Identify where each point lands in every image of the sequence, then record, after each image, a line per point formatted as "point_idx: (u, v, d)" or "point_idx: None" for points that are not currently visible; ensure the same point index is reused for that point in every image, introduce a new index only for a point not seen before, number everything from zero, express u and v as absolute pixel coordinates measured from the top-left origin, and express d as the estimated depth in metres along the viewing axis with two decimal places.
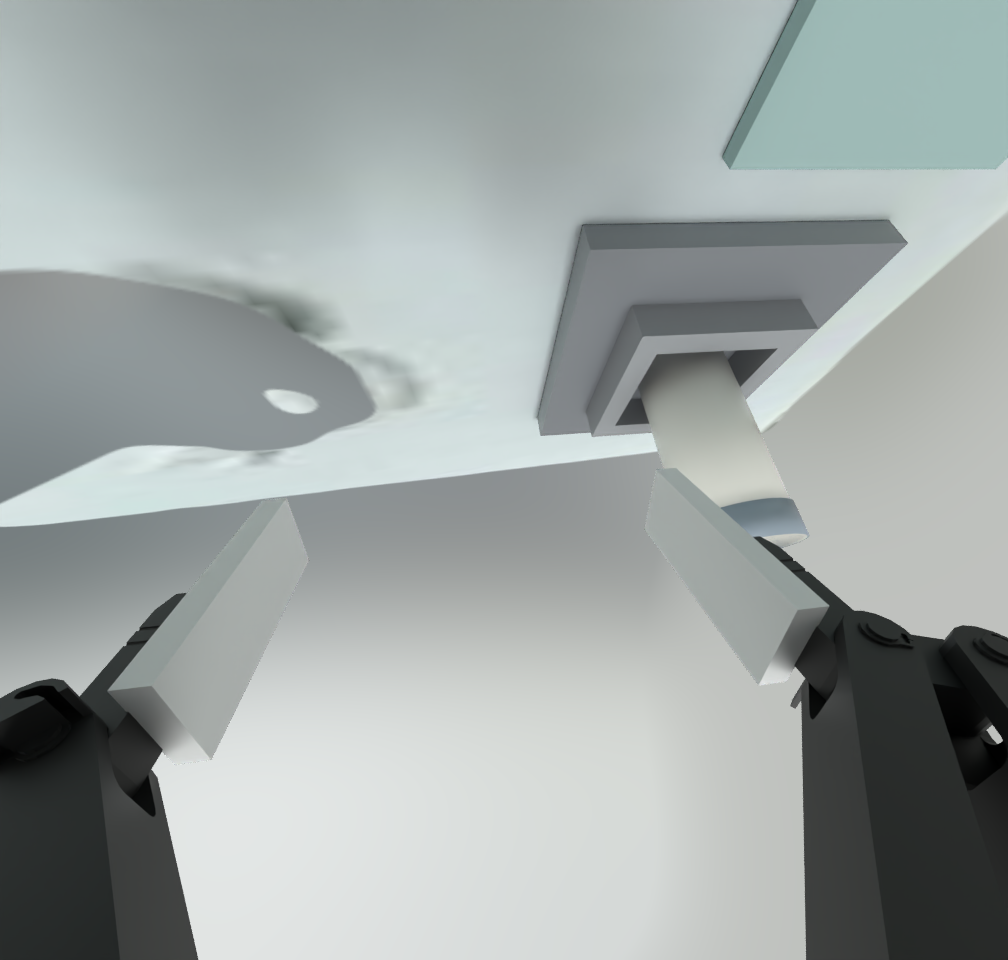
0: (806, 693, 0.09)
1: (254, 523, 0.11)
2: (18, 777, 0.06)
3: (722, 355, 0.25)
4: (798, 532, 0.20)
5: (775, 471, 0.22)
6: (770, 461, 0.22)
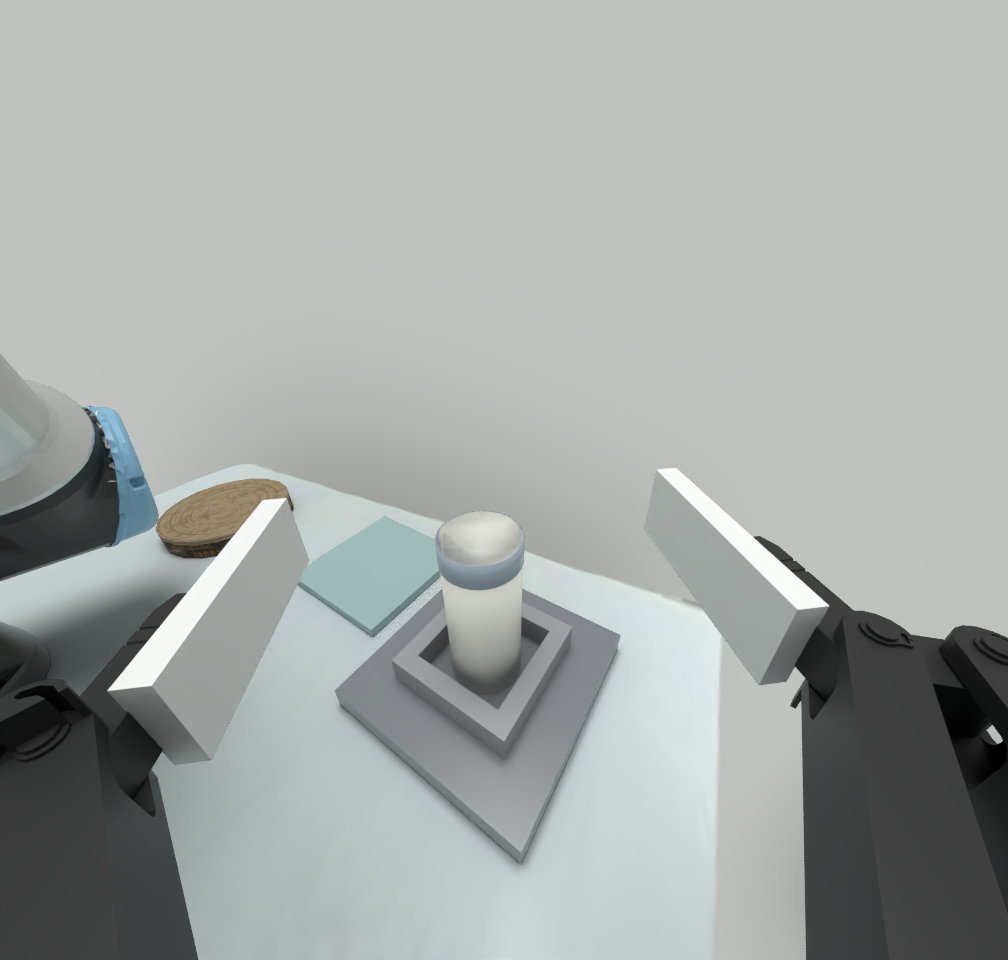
0: (806, 693, 0.09)
1: (254, 523, 0.11)
2: (18, 777, 0.06)
3: None
4: (456, 516, 0.28)
5: None
6: None
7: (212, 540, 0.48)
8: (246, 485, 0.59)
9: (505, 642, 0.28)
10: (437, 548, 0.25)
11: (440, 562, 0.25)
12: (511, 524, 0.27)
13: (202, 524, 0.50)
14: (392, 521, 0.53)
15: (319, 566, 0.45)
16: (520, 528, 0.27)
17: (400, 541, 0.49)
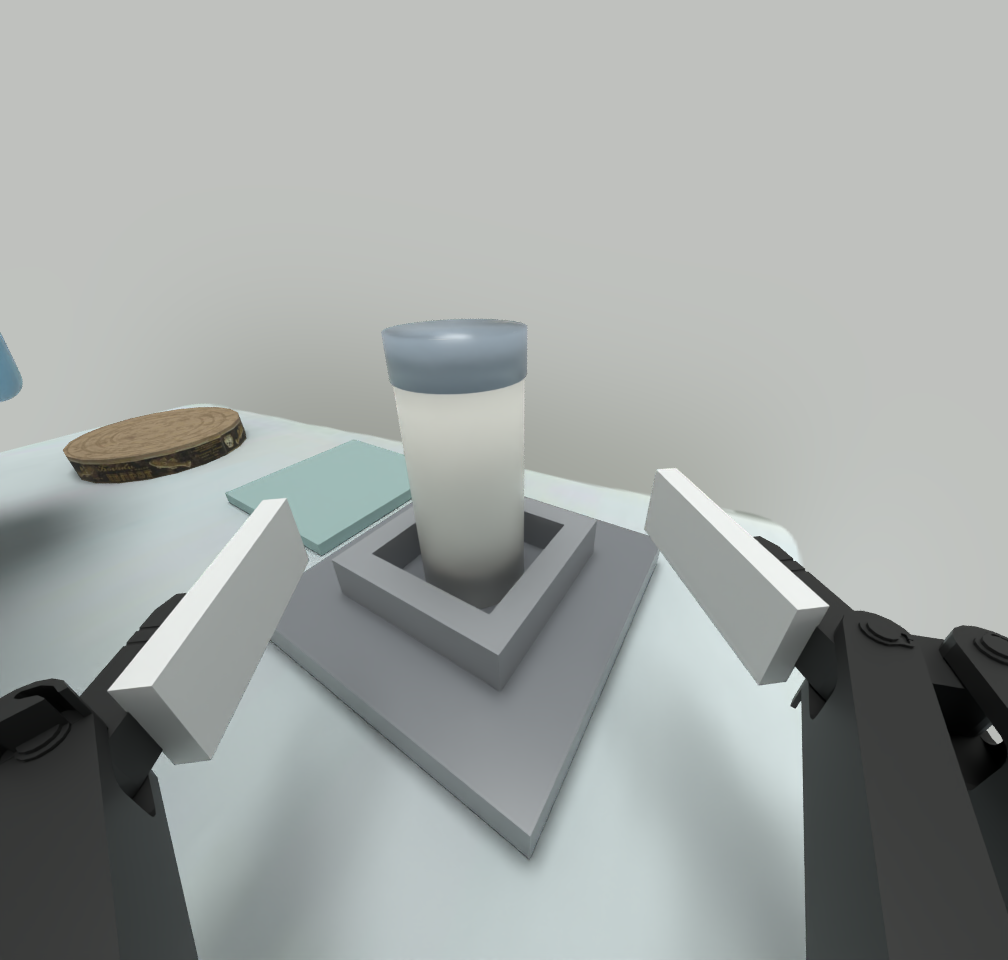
0: (806, 693, 0.09)
1: (254, 523, 0.11)
2: (18, 777, 0.06)
3: None
4: (421, 322, 0.18)
5: None
6: None
7: (130, 458, 0.38)
8: (190, 412, 0.49)
9: (499, 513, 0.18)
10: (384, 334, 0.15)
11: (389, 356, 0.15)
12: (507, 322, 0.17)
13: (123, 444, 0.40)
14: (362, 443, 0.43)
15: (263, 484, 0.35)
16: (520, 324, 0.17)
17: (370, 460, 0.39)
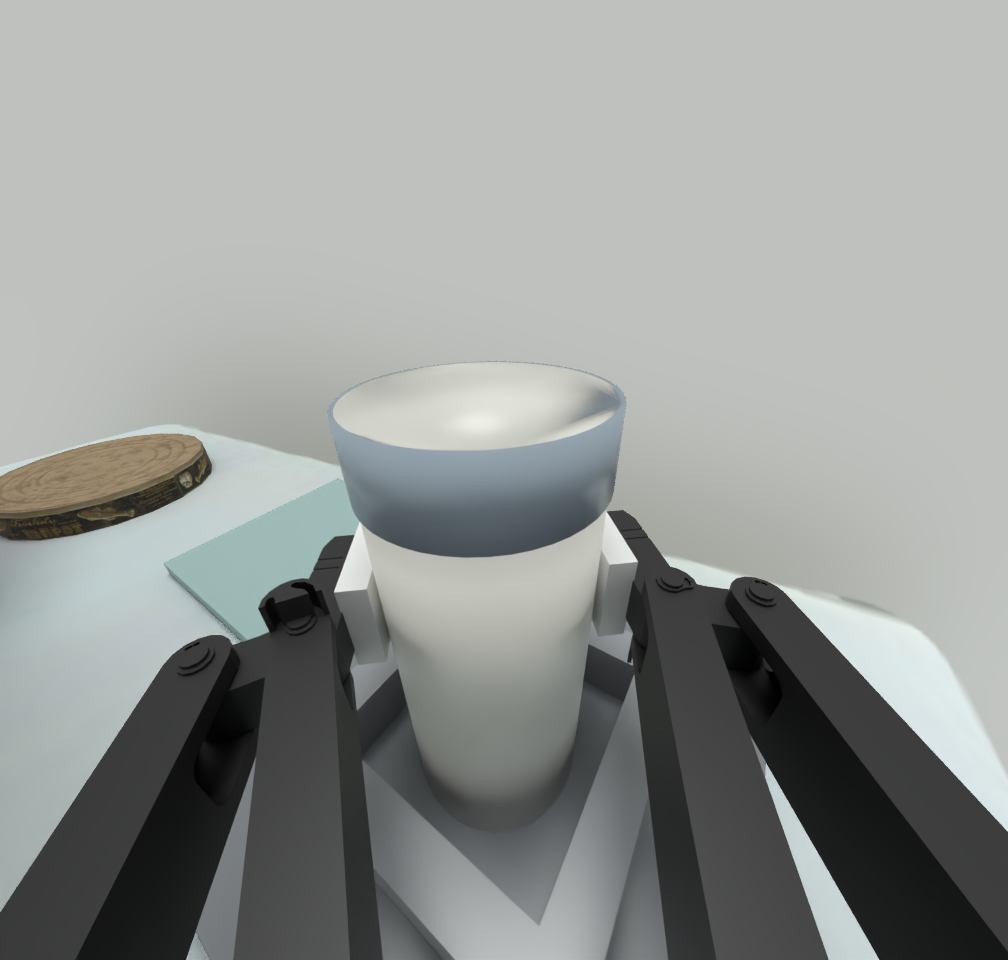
0: (633, 649, 0.10)
1: None
2: (286, 645, 0.08)
3: None
4: (415, 369, 0.10)
5: None
6: None
7: (50, 510, 0.30)
8: (145, 441, 0.41)
9: (552, 715, 0.10)
10: (331, 415, 0.07)
11: (341, 464, 0.07)
12: (572, 375, 0.09)
13: (49, 488, 0.32)
14: None
15: (216, 548, 0.27)
16: (601, 380, 0.09)
17: None
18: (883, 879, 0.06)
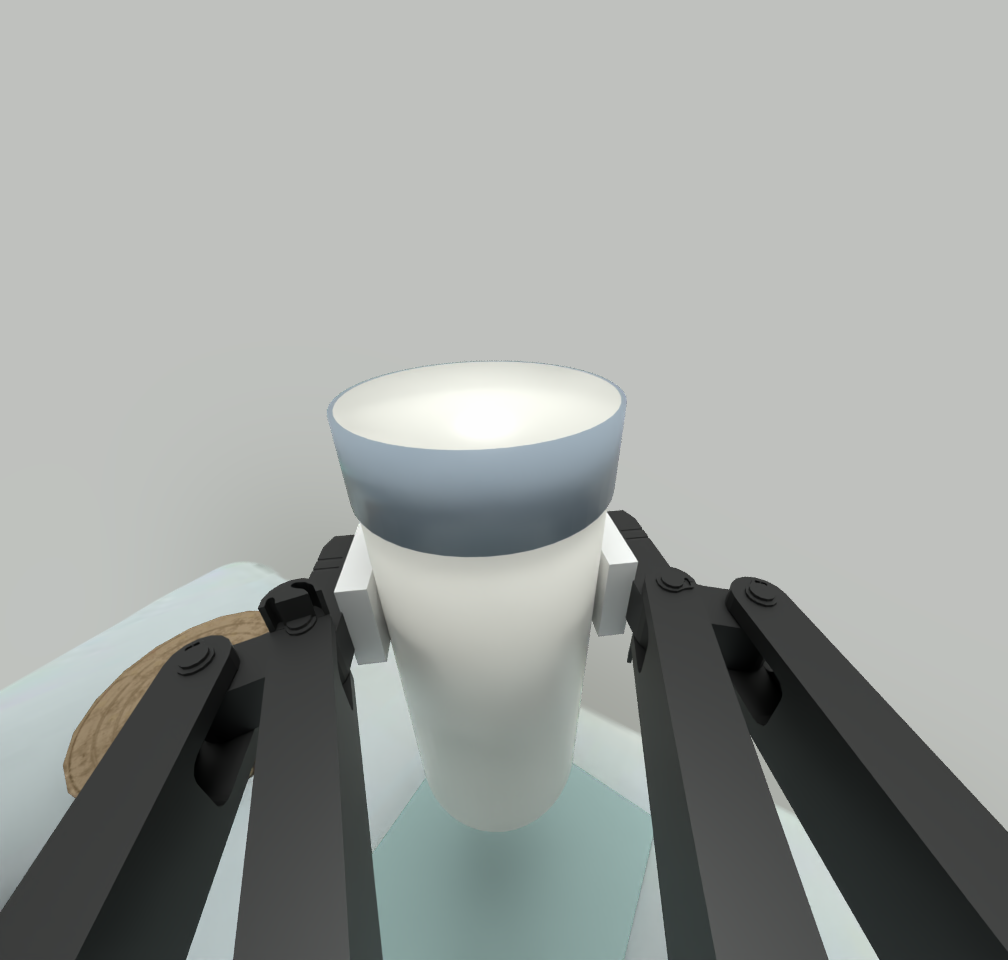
0: (633, 649, 0.10)
1: None
2: (286, 645, 0.08)
3: None
4: (415, 369, 0.10)
5: None
6: None
7: None
8: (238, 629, 0.35)
9: (553, 715, 0.10)
10: (331, 415, 0.07)
11: (341, 463, 0.07)
12: (572, 374, 0.09)
13: None
14: None
15: (384, 877, 0.22)
16: (601, 379, 0.09)
17: None
18: (883, 879, 0.06)
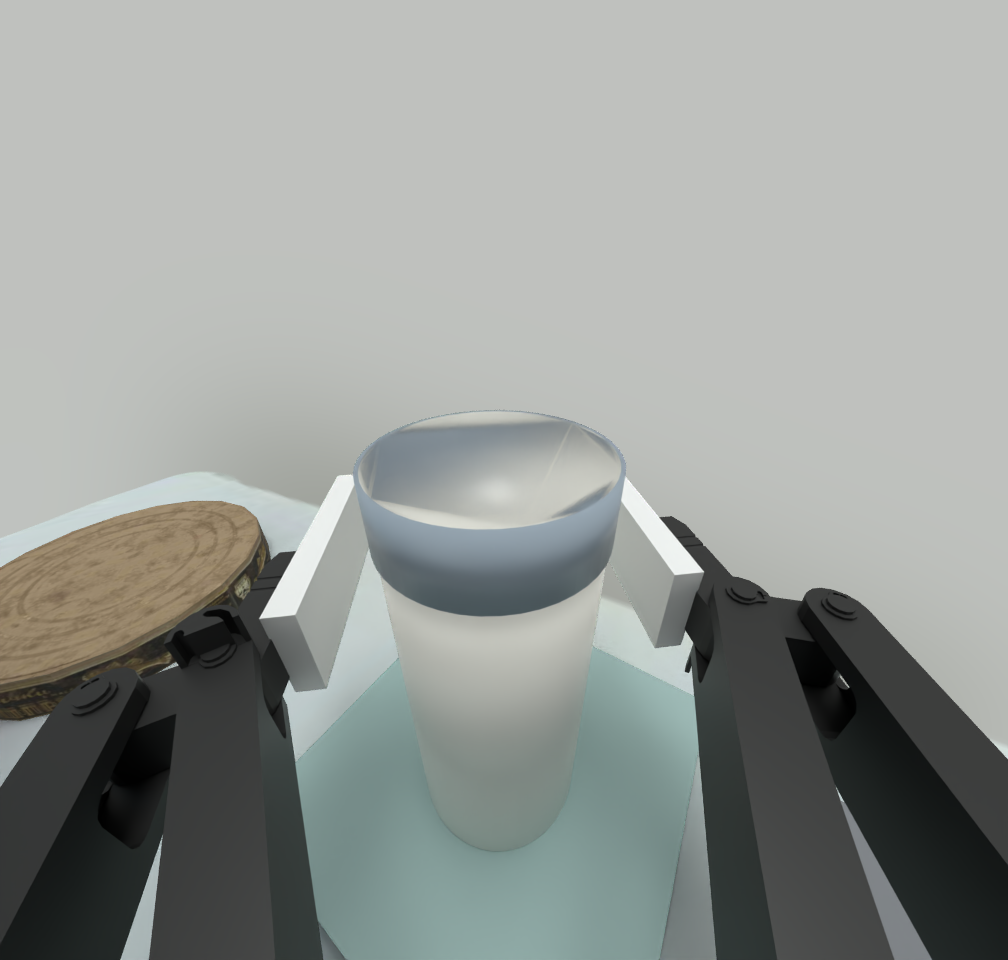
0: (694, 658, 0.10)
1: (337, 494, 0.13)
2: (201, 680, 0.07)
3: None
4: (428, 419, 0.11)
5: None
6: None
7: (38, 678, 0.18)
8: (176, 516, 0.29)
9: (554, 746, 0.11)
10: (357, 480, 0.08)
11: (366, 525, 0.08)
12: (576, 432, 0.10)
13: (38, 621, 0.20)
14: None
15: (329, 769, 0.16)
16: (602, 438, 0.10)
17: None
18: (961, 908, 0.05)
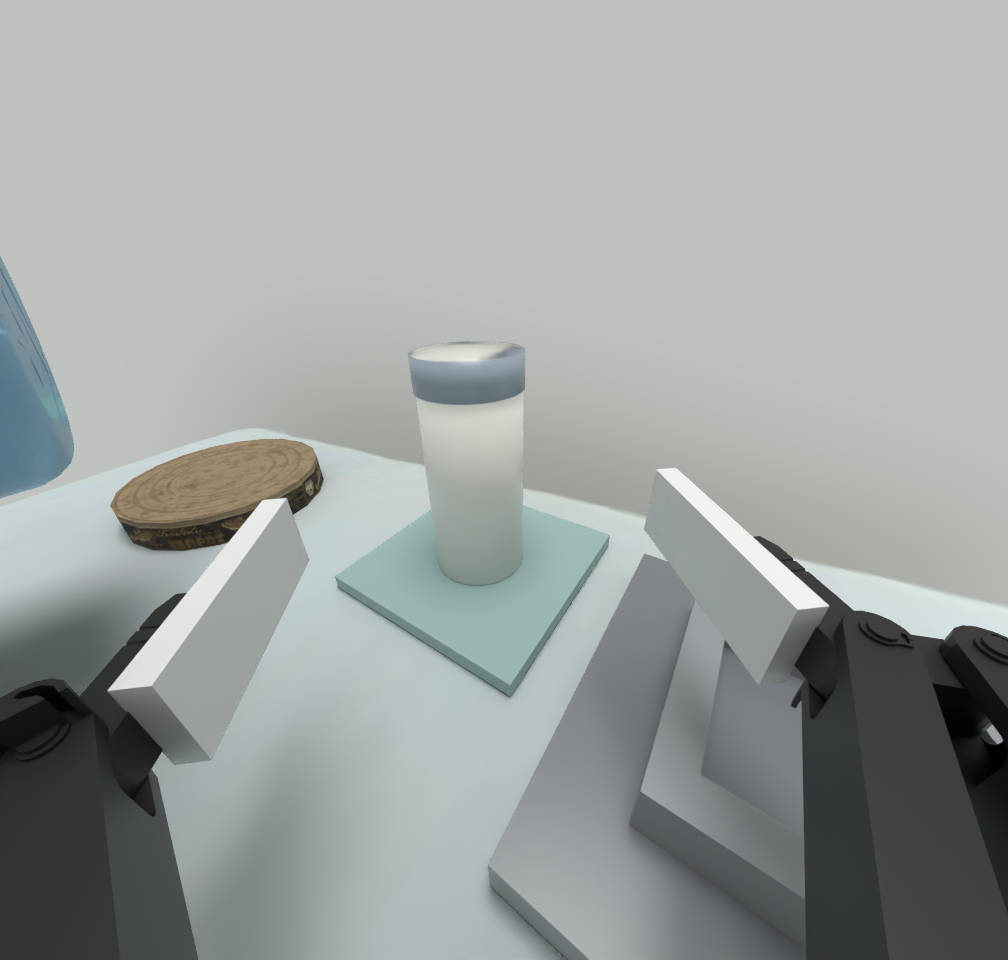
0: (806, 693, 0.09)
1: (255, 523, 0.11)
2: (18, 777, 0.06)
3: None
4: (438, 344, 0.22)
5: None
6: None
7: (198, 520, 0.29)
8: (254, 447, 0.40)
9: (501, 503, 0.22)
10: (410, 356, 0.19)
11: (414, 374, 0.19)
12: (509, 345, 0.21)
13: (185, 496, 0.32)
14: None
15: (381, 560, 0.27)
16: (520, 347, 0.21)
17: None
18: None
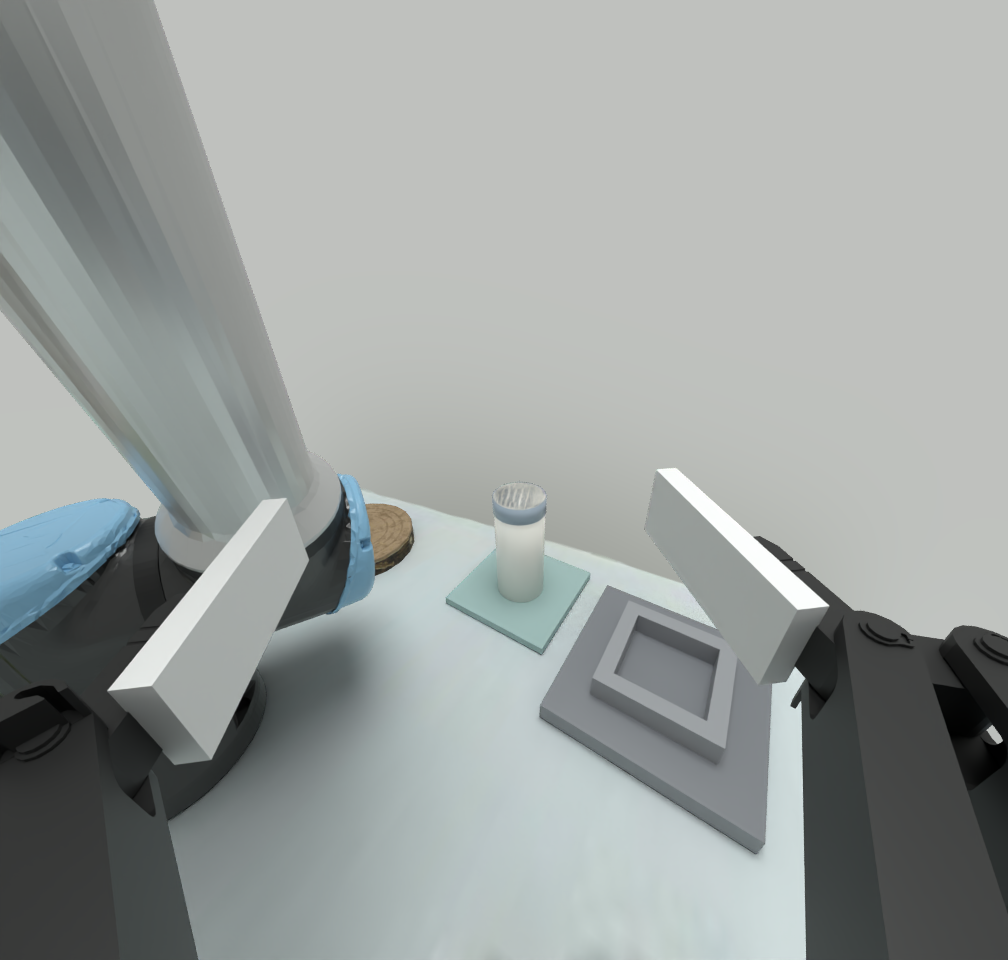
0: (806, 693, 0.09)
1: (254, 523, 0.11)
2: (18, 777, 0.06)
3: None
4: (503, 485, 0.45)
5: None
6: None
7: None
8: (367, 510, 0.63)
9: (534, 563, 0.45)
10: (494, 501, 0.42)
11: (496, 510, 0.42)
12: (538, 489, 0.44)
13: None
14: None
15: (467, 588, 0.50)
16: (543, 491, 0.44)
17: None
18: None
